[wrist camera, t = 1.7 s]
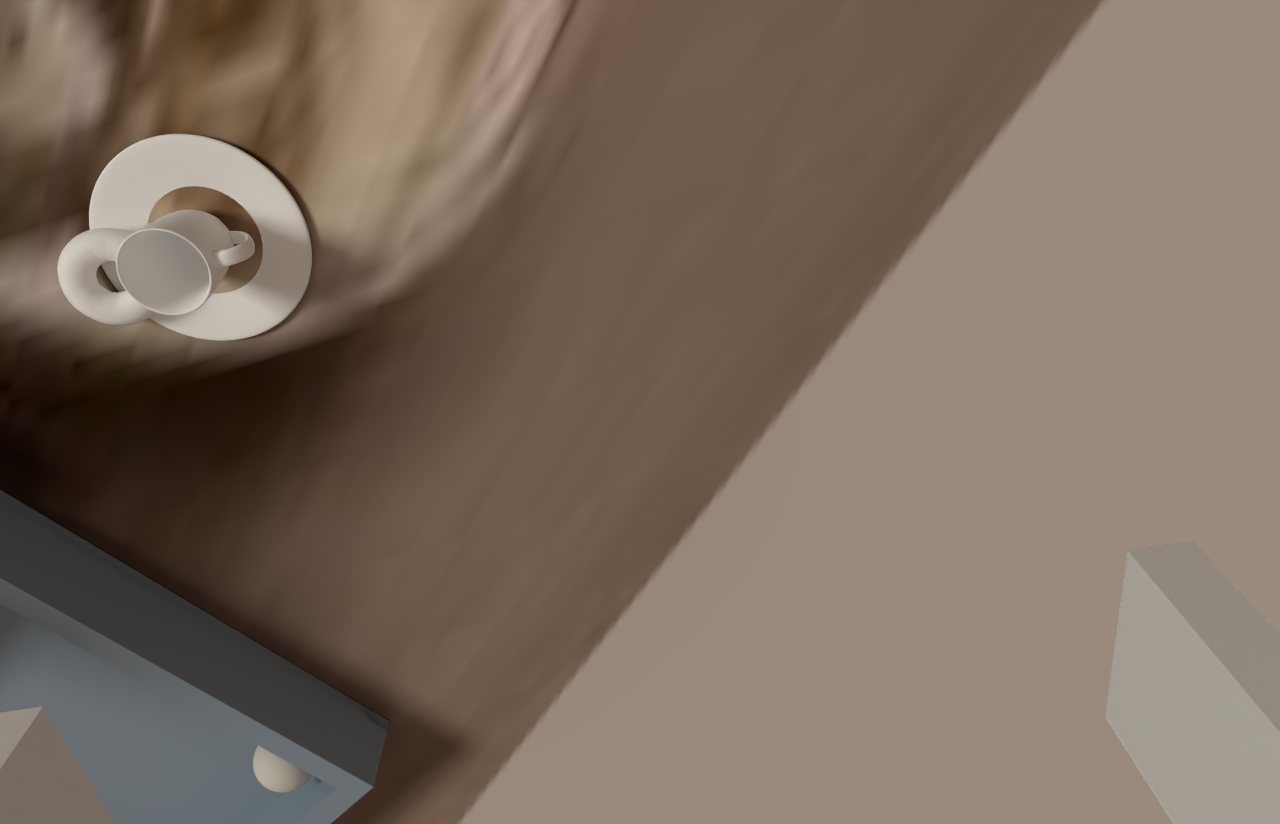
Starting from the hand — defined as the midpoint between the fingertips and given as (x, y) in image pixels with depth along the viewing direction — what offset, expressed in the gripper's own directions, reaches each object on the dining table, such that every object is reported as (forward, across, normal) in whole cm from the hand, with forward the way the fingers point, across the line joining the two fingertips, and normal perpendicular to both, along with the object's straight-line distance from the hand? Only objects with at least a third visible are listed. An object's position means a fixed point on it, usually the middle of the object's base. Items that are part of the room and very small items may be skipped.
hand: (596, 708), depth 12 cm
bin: (+26, -29, -24) cm, 46 cm away
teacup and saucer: (+27, -17, +2) cm, 32 cm away
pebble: (+26, -19, -25) cm, 40 cm away
